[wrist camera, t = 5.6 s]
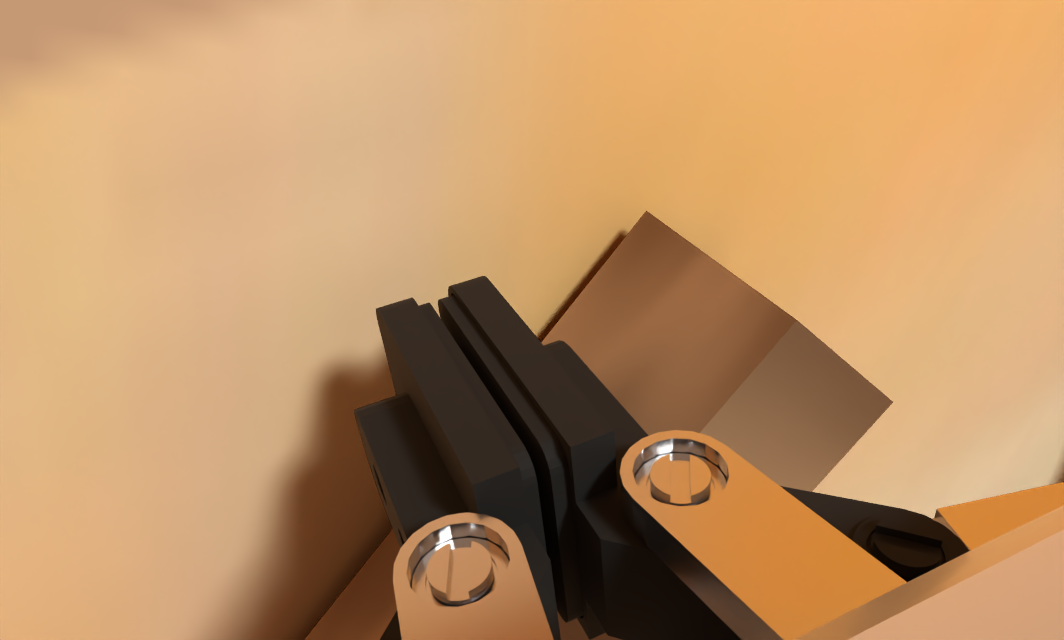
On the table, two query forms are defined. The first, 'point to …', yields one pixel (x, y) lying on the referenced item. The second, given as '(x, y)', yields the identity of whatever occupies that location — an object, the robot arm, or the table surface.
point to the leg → (681, 385)
